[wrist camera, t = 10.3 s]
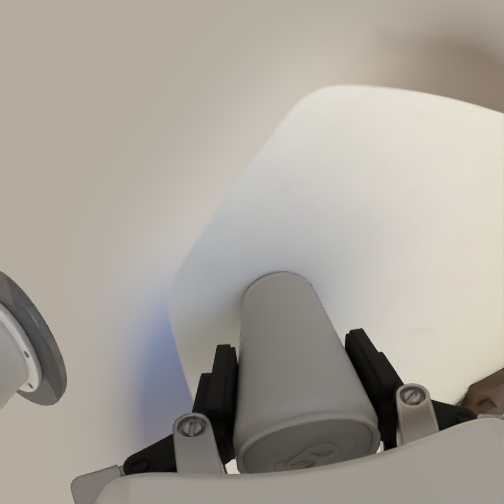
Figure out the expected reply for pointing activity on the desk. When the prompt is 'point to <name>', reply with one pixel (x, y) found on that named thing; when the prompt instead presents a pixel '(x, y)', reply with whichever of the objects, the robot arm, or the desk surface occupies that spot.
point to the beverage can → (296, 384)
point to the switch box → (486, 395)
